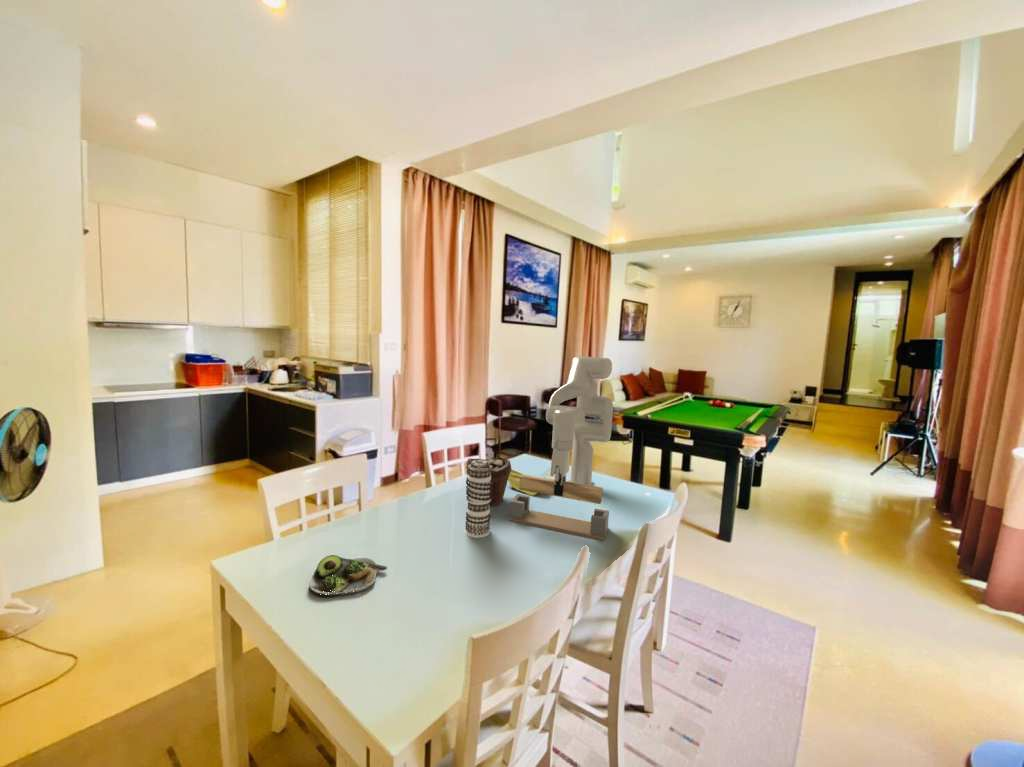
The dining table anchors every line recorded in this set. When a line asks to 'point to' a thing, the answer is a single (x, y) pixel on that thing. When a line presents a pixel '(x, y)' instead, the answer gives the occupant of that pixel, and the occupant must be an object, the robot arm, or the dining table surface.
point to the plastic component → (517, 482)
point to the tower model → (478, 499)
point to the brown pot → (496, 477)
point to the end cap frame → (559, 519)
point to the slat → (569, 489)
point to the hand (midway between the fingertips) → (559, 493)
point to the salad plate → (343, 575)
